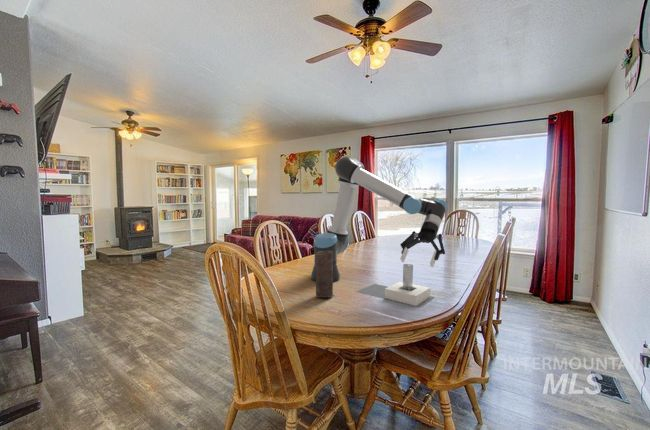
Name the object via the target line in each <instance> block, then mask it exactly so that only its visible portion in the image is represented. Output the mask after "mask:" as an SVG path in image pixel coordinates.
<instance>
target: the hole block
mask: <svg viewBox="0 0 650 430" xmlns="http://www.w3.org/2000/svg"><path fill="white" fill-rule="evenodd" d="M387 287H388V288H385V298H387V299H391V300H395V301H399V302H403V303H407V304H411V305H415V306H417V305H419V304H420V303H422V302H423V301H425V300H426V299H428V298H429V297H430V296H431V287H429V286H428V287H427V286H423V285H418V284H414V283H413V289H412V291H407V290H403V281H398V282H396V283H394V284H391V285H390V286H387ZM387 299H386V300H387ZM391 300H390V301H391ZM395 301H394V302H395ZM399 302H398V303H399Z"/></svg>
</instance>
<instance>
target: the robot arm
mask: <svg viewBox="0 0 650 430" xmlns="http://www.w3.org/2000/svg"><path fill="white" fill-rule="evenodd" d="M334 169H335V170H334V171H335V173H336V176H337V177H338V183H339V184H340V185H339V189H338V195H337V199H336V203H335V207H334V208H335V209H334V213H333V217H332V222H331V226H330V227H328V228H327V232H323V233H318V234H316V236H314V242H313V244H314V248H313V249H314V264H313V267H312V271H311V274H310V275H311V276H310V279H311V280H312V281H314V282H316V253H317V252H318V251H333V283H335V282H338V281H340V279H341V275H340V272H339V268H338V265H337V264H338V263H337V259H338V255H339V254H342V253H344V252H345V251H346V250H347V249H348V246H349V239H348V236H349V232H348V231H347V230H348V229H347V228H348V224H349V220H350V215H351V210H352V206H353V201H354V197H355V193H356V189H357V187H359V186H360V187H362V188H365V189H367V190H368V191H369V192H372V193H374V194H375V195H377V196H379V197H380V198H382V199H385V200H386V201H388V202H389V203H391V204H393V205H395V206H397V207H398V208H400V209H402V210H403V211H405V212H406V213H407V214H409V215H416V214H420V215H422V216H425V218H424V220H423V222H422V224H421V227H420V230H419V232H416V231H414V230H413V231H412V232H411V234H410V235H409V236H408V237H407V238H406V239H405V240H403V241H402V242H401V243H400V247H401V249H402V250H401V252H400V253H401V257H400V261H401V262H402V263H405V260H406V258H407V256H408V253H409V249H411V248H413V247H414V246H416V245H418V244H420V243H423V244H424V243H426V244H431V245H432V247H433V248H434V250H435V251H433V254H432V257H431V259H430V262H429V265H430V268H434V266H435V264H436V261H439V259H440V255H445V254H446V250H445V247H444V242H443V238H444V237H443V235H442V233H439V228H440V226H441V224H442V221H443V219H444V217H445V213H446V212H447V207H448V203H447V202H446V201H445V200H444V199H443V198H437V197H435V198H434V199H432V200H428V199H424V198H422V197H418V196H416V195H412V194H410V193H408V192H406V191H404V190H402V189H400V188H399V187H397V186H395V185H393V184H391V183H389V182H388V181H386V180H384V179H382V178H380V177H378V176H377V175H375V174H373V173H371V172H369V171H367V170H365V166H364V164H363V163H362V161H360V160H359V159H358V158H353V157H350V156H342V157H340V158H339V159H338V160H337V161H336V162H335V166H334ZM436 239H437V240H438V243H439V247H440V249H439V247H438V246H437V244H436V242H435V240H436Z"/></svg>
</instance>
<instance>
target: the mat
mask: <svg viewBox="0 0 650 430" xmlns="http://www.w3.org/2000/svg"><path fill="white" fill-rule="evenodd" d="M388 287H389V286H386V285H383V284H377V283H373V284H370V285H368V286H366V287H364V288H361V289H358V290H357V291H356V293H360V294H364V295H367V296H368V295H369V296H371V297H375V298H380V299H384V300H387V301H392V302H394V303H400V304H402V305H403V304H404V305H406V306H411V307H414V308H419V309H421V308H422V307H424V306H426V305H427V304H428V303H429V302H432V301H433V300H434V299H435V298H436V296H431V295H430V297H429V298H428V299H426V300H425V301H423V302H422V303H420V304H419V305H417V306H415V305H411V304H407V303H403V302H399V301H395V300H391V299H387V298H385V288H388Z"/></svg>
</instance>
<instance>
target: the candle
mask: <svg viewBox="0 0 650 430" xmlns="http://www.w3.org/2000/svg"><path fill="white" fill-rule="evenodd" d="M333 284H334V282H333V251H318V252H317V253H316V281H315V295H316V297H318V298H324V299H326V298H330V297H331V298H332V297H333V295H334V291H333V290H334V285H333Z"/></svg>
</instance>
